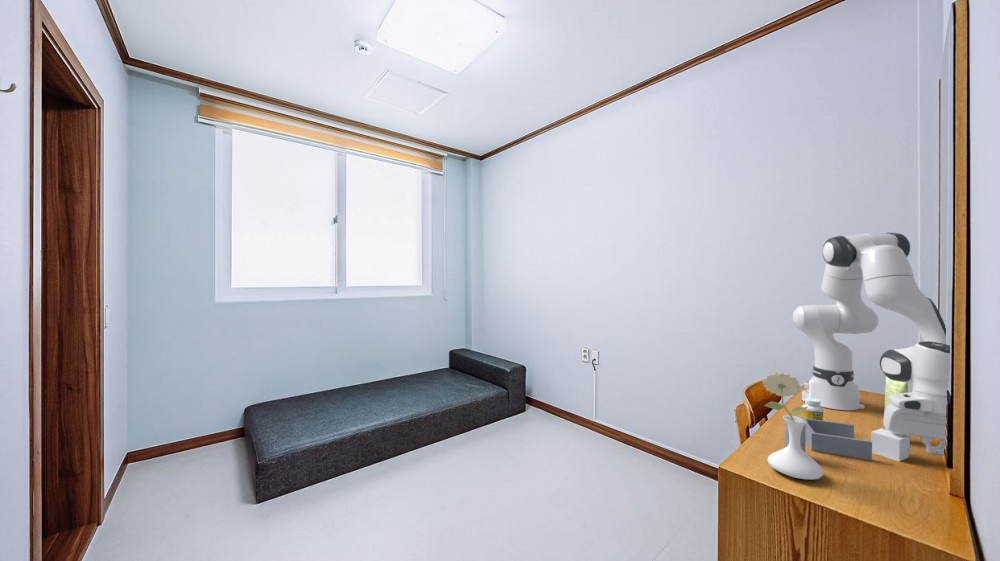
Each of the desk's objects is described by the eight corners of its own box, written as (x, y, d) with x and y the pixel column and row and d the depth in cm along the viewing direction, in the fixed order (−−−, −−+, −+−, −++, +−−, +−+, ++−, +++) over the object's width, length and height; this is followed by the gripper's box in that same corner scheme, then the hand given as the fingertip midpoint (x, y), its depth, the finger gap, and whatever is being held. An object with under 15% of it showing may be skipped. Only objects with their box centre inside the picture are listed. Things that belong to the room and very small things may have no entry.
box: (799, 432, 123) (799, 417, 122) (852, 440, 117) (852, 424, 117) (811, 450, 110) (811, 433, 110) (871, 460, 104) (871, 442, 104)
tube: (911, 441, 116) (912, 377, 116) (907, 445, 114) (908, 379, 113) (885, 434, 121) (886, 373, 121) (881, 438, 118) (881, 375, 118)
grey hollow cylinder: (786, 450, 110) (786, 414, 110) (806, 455, 107) (806, 419, 107) (783, 455, 107) (783, 419, 107) (803, 461, 104) (804, 423, 104)
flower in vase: (830, 475, 96) (831, 376, 96) (814, 490, 90) (816, 384, 90) (770, 455, 107) (771, 366, 107) (752, 467, 100) (753, 372, 100)
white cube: (909, 457, 106) (909, 436, 106) (899, 462, 104) (899, 440, 104) (880, 448, 112) (881, 428, 112) (870, 452, 109) (870, 431, 109)
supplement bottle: (811, 425, 129) (812, 396, 129) (827, 431, 124) (827, 401, 123) (797, 425, 128) (798, 397, 128) (812, 432, 123) (813, 402, 123)
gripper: (984, 405, 101) (983, 457, 102) (881, 394, 111) (880, 442, 111) (1001, 413, 96) (1000, 468, 96) (891, 401, 105) (890, 451, 105)
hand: (935, 454), depth 104 cm, fingers closed
